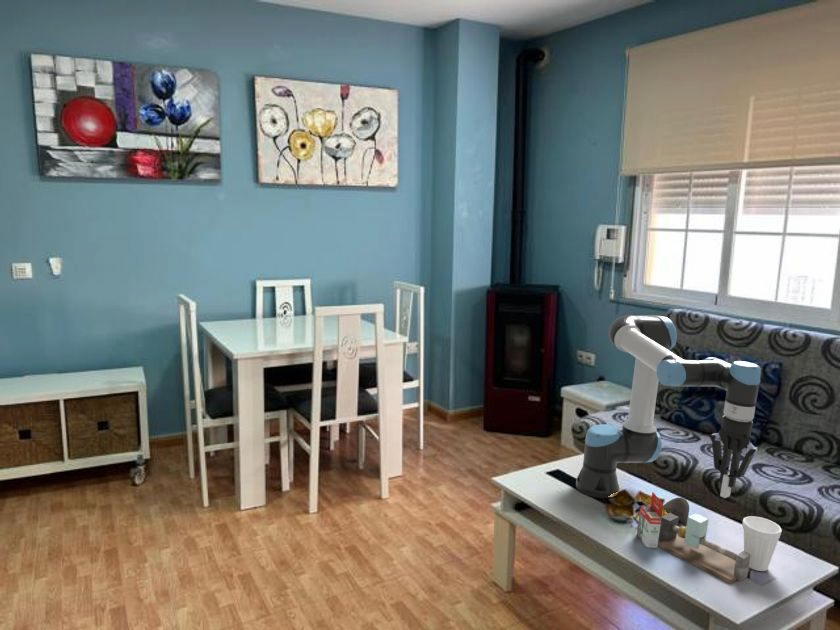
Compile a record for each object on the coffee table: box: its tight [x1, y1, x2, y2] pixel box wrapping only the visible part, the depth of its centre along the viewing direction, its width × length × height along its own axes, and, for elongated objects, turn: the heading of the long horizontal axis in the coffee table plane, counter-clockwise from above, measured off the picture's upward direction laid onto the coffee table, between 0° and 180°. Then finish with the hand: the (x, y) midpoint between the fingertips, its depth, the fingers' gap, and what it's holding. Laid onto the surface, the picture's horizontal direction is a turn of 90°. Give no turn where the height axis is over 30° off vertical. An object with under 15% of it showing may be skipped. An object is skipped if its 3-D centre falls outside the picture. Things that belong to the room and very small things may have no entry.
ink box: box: [636, 491, 664, 549], centre depth 187 cm, size 4×8×15 cm, turn 2°
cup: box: [742, 515, 783, 572], centre depth 177 cm, size 10×10×13 cm
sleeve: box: [684, 512, 710, 549], centre depth 181 cm, size 4×4×8 cm
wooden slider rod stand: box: [657, 513, 751, 584], centre depth 180 cm, size 25×11×8 cm, turn 37°
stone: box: [663, 497, 690, 526], centre depth 204 cm, size 10×8×10 cm
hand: (725, 495), depth 174 cm, fingers closed
